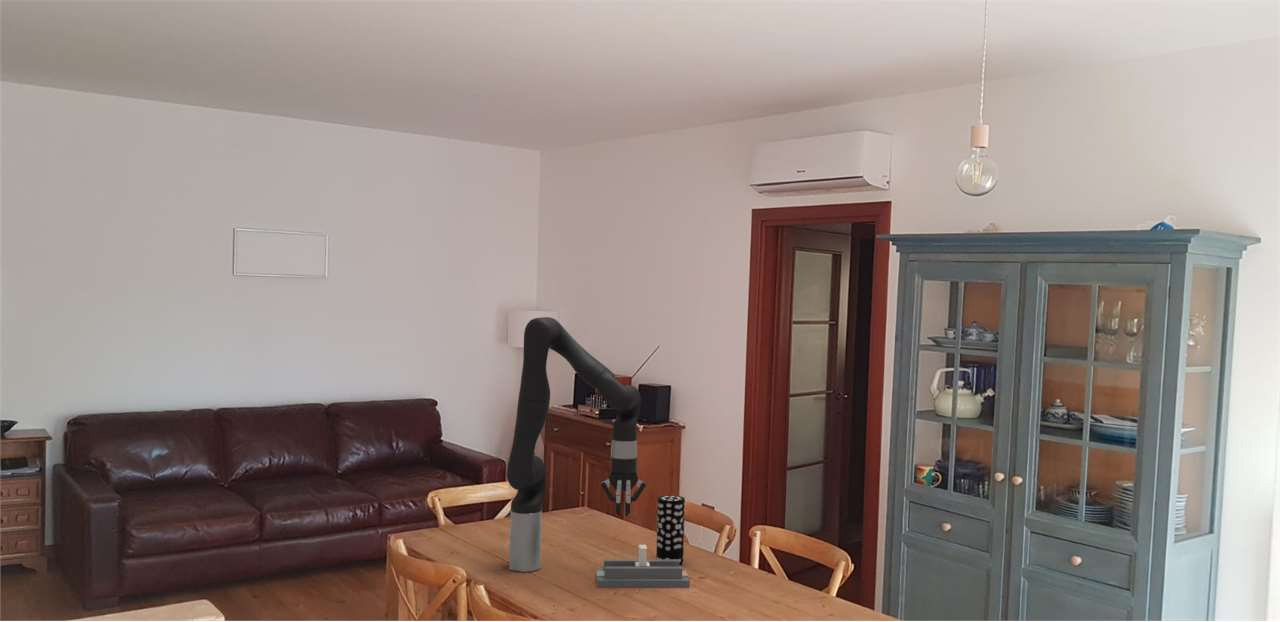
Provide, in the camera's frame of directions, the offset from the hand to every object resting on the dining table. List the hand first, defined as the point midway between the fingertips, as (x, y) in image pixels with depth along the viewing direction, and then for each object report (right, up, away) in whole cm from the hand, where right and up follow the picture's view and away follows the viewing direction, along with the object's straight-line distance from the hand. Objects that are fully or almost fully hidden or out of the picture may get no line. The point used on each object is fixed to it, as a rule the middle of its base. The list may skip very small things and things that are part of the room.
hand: (622, 515), depth 272 cm
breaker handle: (+6, -17, +1) cm, 18 cm away
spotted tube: (+14, -19, +20) cm, 31 cm away
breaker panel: (+6, -19, +1) cm, 20 cm away
